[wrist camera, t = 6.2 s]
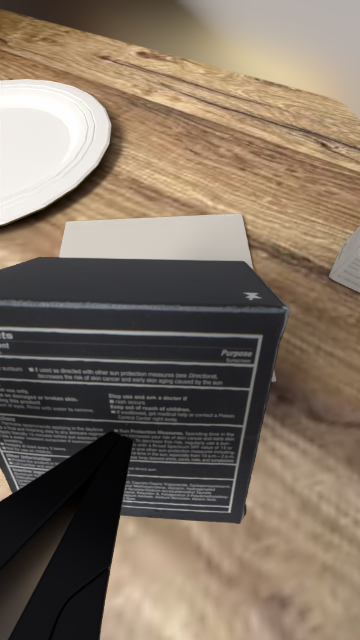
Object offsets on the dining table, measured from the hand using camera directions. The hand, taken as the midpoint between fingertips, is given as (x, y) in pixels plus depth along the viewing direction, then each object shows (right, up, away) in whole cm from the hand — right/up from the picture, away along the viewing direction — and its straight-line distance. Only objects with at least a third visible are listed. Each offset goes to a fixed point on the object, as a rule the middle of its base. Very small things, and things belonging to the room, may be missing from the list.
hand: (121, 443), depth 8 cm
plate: (-21, +24, +21) cm, 38 cm away
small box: (0, -4, +6) cm, 7 cm away
